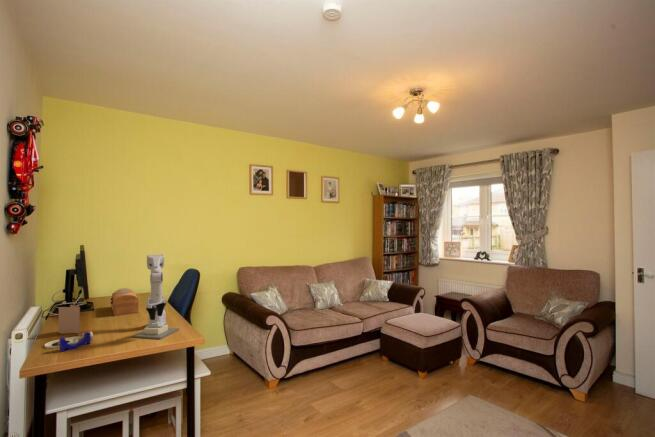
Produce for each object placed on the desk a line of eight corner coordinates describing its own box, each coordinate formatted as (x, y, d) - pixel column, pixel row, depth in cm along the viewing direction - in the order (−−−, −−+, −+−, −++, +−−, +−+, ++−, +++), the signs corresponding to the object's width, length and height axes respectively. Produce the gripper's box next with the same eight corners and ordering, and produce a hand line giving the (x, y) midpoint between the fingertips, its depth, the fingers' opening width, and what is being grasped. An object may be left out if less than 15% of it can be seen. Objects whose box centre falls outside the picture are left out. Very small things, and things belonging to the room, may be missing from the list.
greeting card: (81, 332, 191) (81, 306, 191) (65, 336, 184) (66, 309, 185) (72, 329, 197) (72, 304, 197) (56, 332, 190) (57, 306, 190)
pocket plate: (152, 328, 198) (152, 321, 198) (179, 330, 194) (179, 323, 194) (131, 337, 182) (131, 330, 182) (160, 339, 179) (160, 331, 179)
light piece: (93, 335, 177) (44, 345, 164) (93, 341, 177) (44, 351, 164) (91, 330, 186) (44, 338, 173) (91, 336, 186) (44, 344, 173)
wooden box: (109, 307, 249) (110, 289, 249) (135, 304, 258) (135, 286, 259) (110, 316, 224) (111, 296, 225) (138, 313, 234) (138, 293, 234)
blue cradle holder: (62, 352, 161) (62, 340, 162) (59, 350, 164) (59, 338, 164) (91, 345, 171) (91, 333, 171) (87, 343, 174) (87, 331, 174)
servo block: (149, 330, 190) (149, 321, 190) (165, 331, 190) (165, 321, 190) (146, 332, 187) (146, 322, 187) (162, 332, 187) (162, 322, 187)
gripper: (156, 291, 196) (156, 314, 196) (142, 296, 181) (142, 321, 181) (168, 291, 196) (168, 314, 196) (154, 296, 181) (154, 321, 181)
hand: (156, 317), depth 188 cm, fingers open, 7 cm apart
